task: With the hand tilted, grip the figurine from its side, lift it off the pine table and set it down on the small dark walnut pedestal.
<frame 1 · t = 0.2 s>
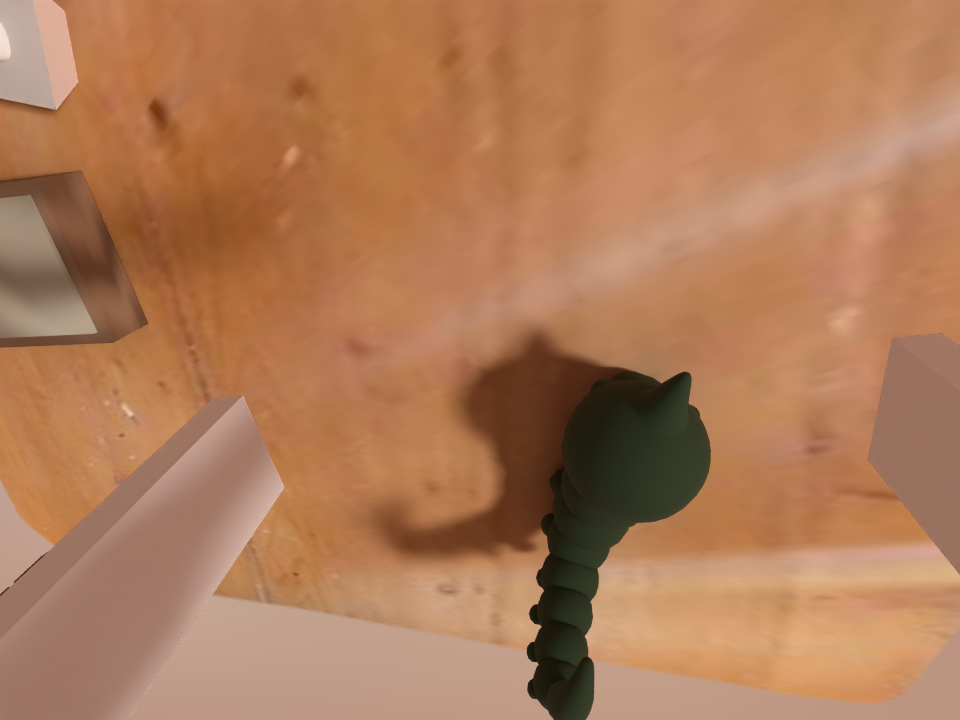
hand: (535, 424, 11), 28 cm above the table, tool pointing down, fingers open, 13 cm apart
walnut pedestal: (54, 257, 45), on the table
toy figurine: (604, 448, 44), on the table
figurine: (46, 42, 37), on the table
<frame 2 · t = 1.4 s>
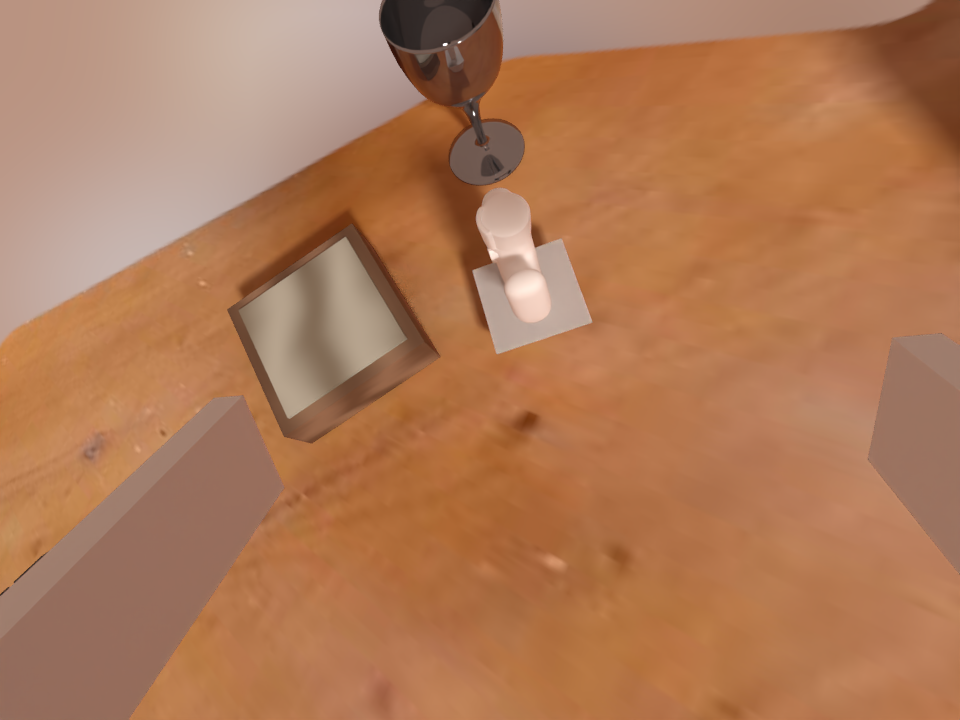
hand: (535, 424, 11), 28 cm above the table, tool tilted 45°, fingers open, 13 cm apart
walnut pedestal: (343, 340, 46), on the table
figurine: (536, 313, 42), on the table
wine glass: (486, 152, 48), on the table
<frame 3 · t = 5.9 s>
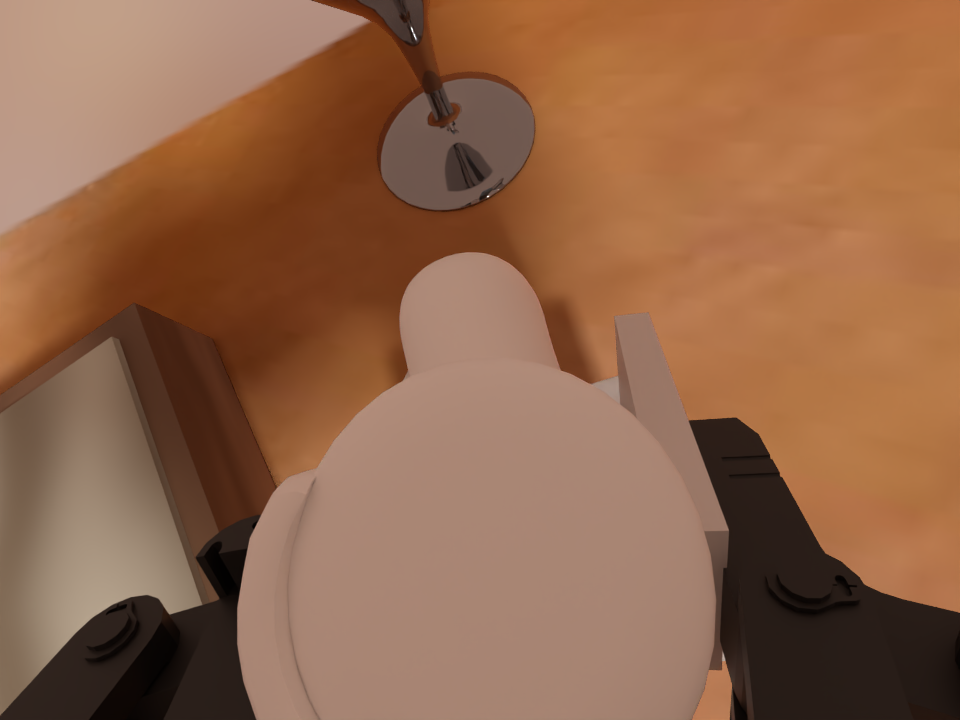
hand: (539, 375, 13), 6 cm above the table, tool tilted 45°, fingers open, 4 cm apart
walnut pedestal: (130, 558, 20), on the table
figurine: (568, 531, 17), on the table, touching gripper
wine glass: (454, 142, 23), on the table
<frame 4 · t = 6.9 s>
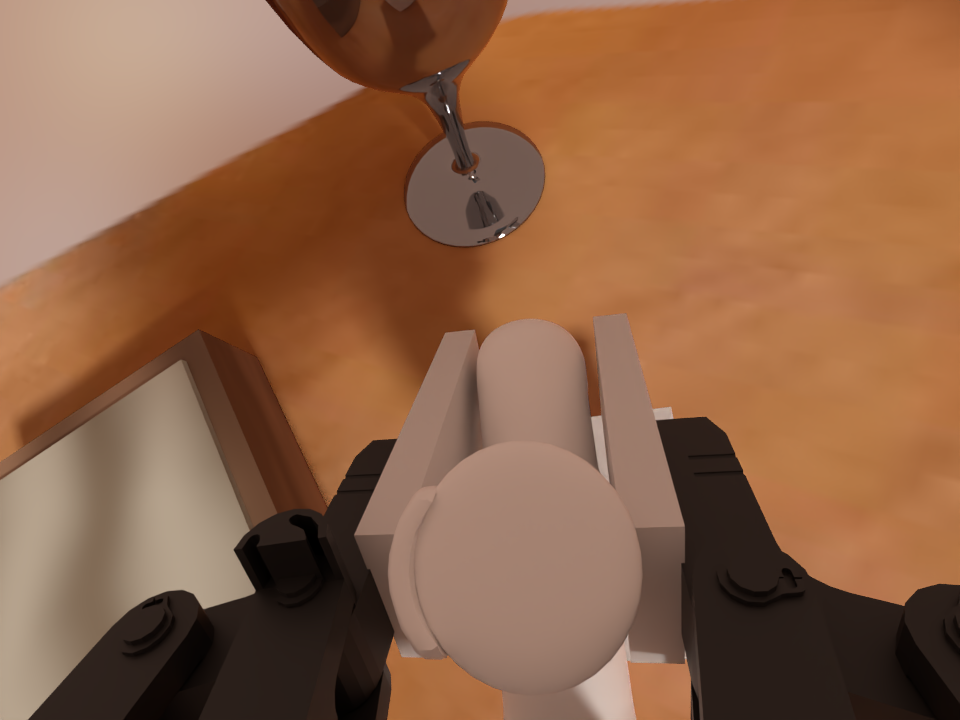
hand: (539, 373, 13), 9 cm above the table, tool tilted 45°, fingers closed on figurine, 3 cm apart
walnut pedestal: (189, 552, 23), on the table
figurine: (581, 530, 20), on the table, touching gripper
wine glass: (473, 184, 26), on the table
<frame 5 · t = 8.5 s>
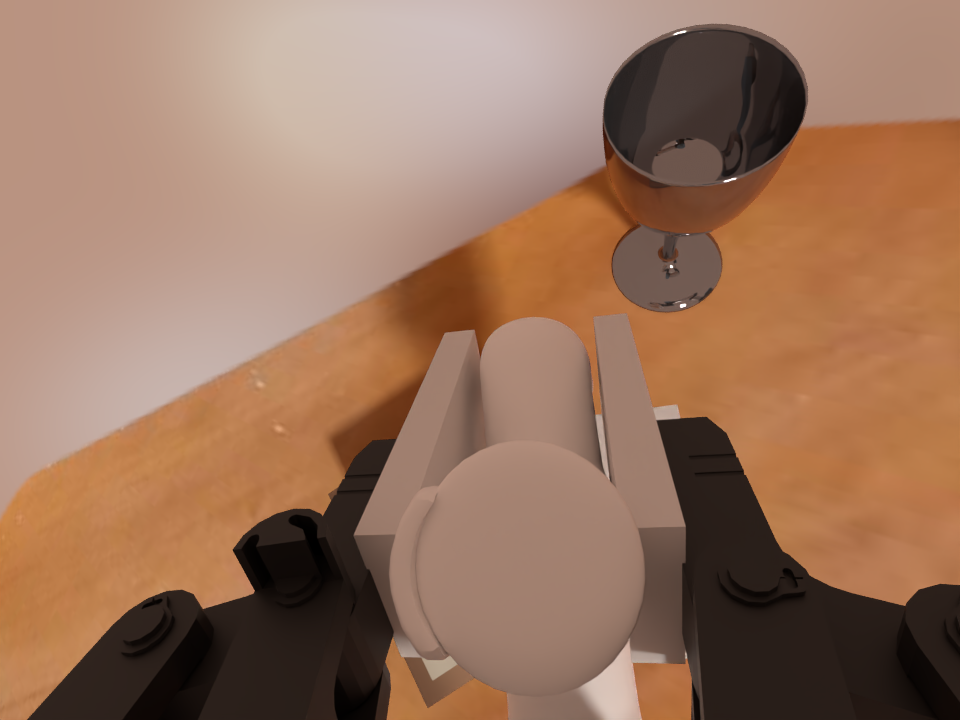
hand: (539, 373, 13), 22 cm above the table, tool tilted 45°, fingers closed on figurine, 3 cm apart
walnut pedestal: (483, 529, 33), on the table
figurine: (587, 528, 20), point 13 cm above the table, touching gripper
wine glass: (665, 264, 36), on the table
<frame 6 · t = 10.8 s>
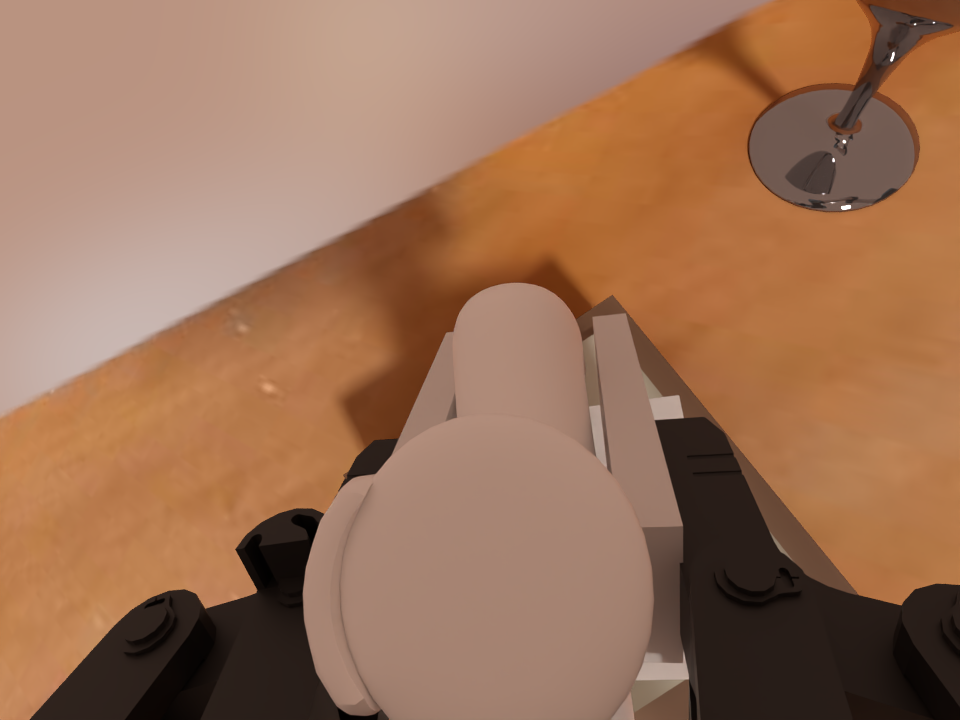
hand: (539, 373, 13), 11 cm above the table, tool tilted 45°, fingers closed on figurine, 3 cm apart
walnut pedestal: (575, 529, 22), on the table
figurine: (579, 532, 18), point 4 cm above the table, touching gripper, walnut pedestal
wine glass: (829, 148, 25), on the table
when the fingers open (11 cm above the table, at t = 10.9 s): figurine stays where it is, resting on walnut pedestal.
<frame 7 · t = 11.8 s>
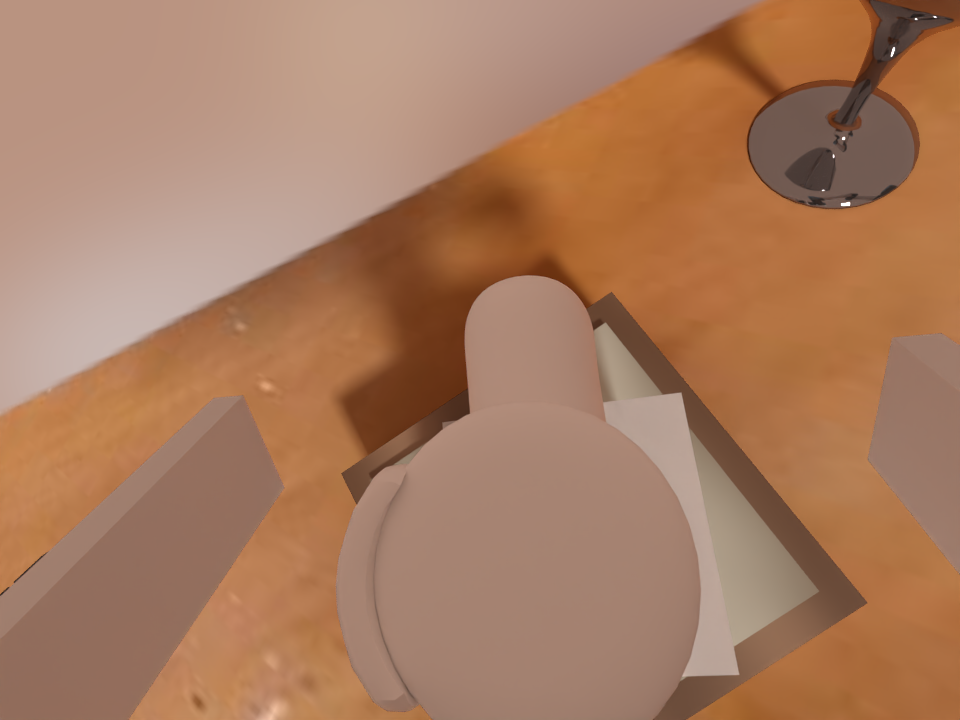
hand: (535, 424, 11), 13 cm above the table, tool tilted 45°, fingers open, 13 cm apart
walnut pedestal: (574, 527, 22), on the table
figurine: (578, 530, 18), point 4 cm above the table, touching walnut pedestal
wine glass: (828, 145, 25), on the table
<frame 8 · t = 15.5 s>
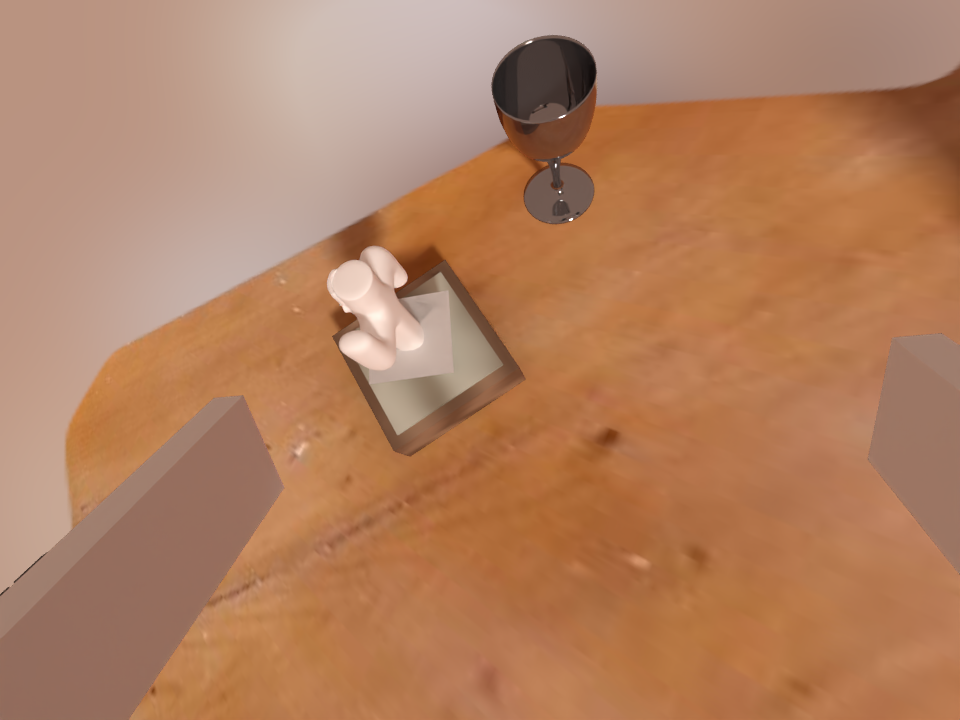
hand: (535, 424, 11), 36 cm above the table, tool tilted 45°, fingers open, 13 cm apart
walnut pedestal: (434, 363, 51), on the table
figurine: (424, 350, 47), point 4 cm above the table, touching walnut pedestal
wine glass: (558, 194, 53), on the table
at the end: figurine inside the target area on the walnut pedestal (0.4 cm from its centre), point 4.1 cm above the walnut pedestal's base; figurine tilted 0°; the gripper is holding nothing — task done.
